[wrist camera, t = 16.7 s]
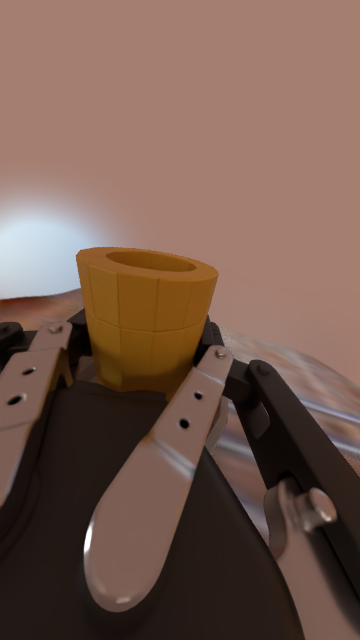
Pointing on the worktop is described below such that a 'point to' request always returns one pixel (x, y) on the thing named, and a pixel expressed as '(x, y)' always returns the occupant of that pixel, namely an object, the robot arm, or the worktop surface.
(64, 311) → the worktop surface
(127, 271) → the yellow hollow cylinder
